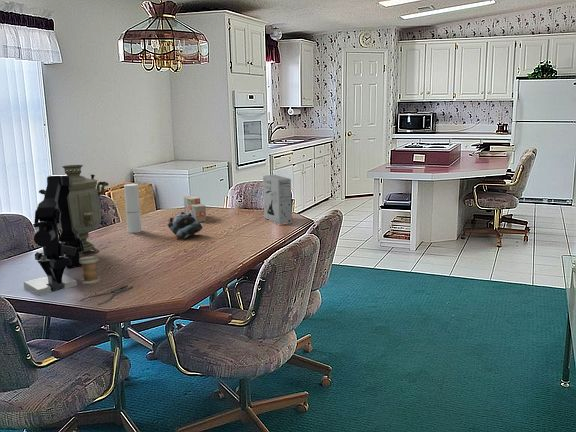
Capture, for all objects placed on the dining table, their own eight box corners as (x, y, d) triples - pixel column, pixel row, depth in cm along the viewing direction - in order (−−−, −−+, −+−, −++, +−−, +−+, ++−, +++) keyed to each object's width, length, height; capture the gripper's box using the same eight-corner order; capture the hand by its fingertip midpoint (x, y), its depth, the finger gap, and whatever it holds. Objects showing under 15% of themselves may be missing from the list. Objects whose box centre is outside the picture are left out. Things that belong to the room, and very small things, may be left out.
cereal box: (264, 218, 327) (262, 175, 322) (276, 217, 330) (274, 174, 325) (279, 225, 308) (278, 179, 303) (292, 223, 311) (291, 178, 306)
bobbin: (78, 281, 216) (75, 259, 215) (95, 277, 221) (93, 255, 219) (86, 285, 211) (83, 262, 210) (103, 281, 216) (101, 258, 214)
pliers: (76, 301, 193) (111, 283, 212) (77, 304, 193) (111, 285, 212) (101, 304, 190) (134, 285, 209) (101, 306, 190) (134, 287, 209)
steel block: (49, 289, 208) (47, 274, 207) (58, 287, 211) (57, 272, 210) (53, 291, 206) (51, 276, 205) (62, 289, 208) (61, 274, 207)
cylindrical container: (143, 229, 305) (139, 183, 300) (138, 232, 298) (135, 185, 293) (130, 229, 306) (126, 183, 301) (125, 232, 299) (121, 185, 294)
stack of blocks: (206, 221, 323) (205, 200, 321) (195, 222, 321) (194, 201, 318) (194, 215, 342) (193, 195, 340) (184, 216, 339) (183, 196, 337)
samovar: (49, 265, 240) (38, 171, 232) (44, 252, 262) (34, 166, 255) (121, 255, 253) (113, 166, 245) (110, 243, 276) (103, 161, 268)
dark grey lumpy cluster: (179, 241, 277) (166, 216, 278) (175, 245, 288) (162, 221, 289) (206, 228, 283) (193, 204, 284) (201, 233, 294) (189, 209, 295)
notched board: (24, 286, 212) (23, 281, 212) (61, 278, 221) (60, 273, 221) (38, 295, 202) (38, 289, 202) (76, 285, 212) (76, 280, 211)
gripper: (83, 239, 203) (87, 281, 206) (62, 232, 217) (66, 271, 220) (52, 245, 196) (57, 288, 199) (32, 237, 209) (36, 278, 212)
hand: (55, 281), depth 208 cm, fingers open, 7 cm apart
